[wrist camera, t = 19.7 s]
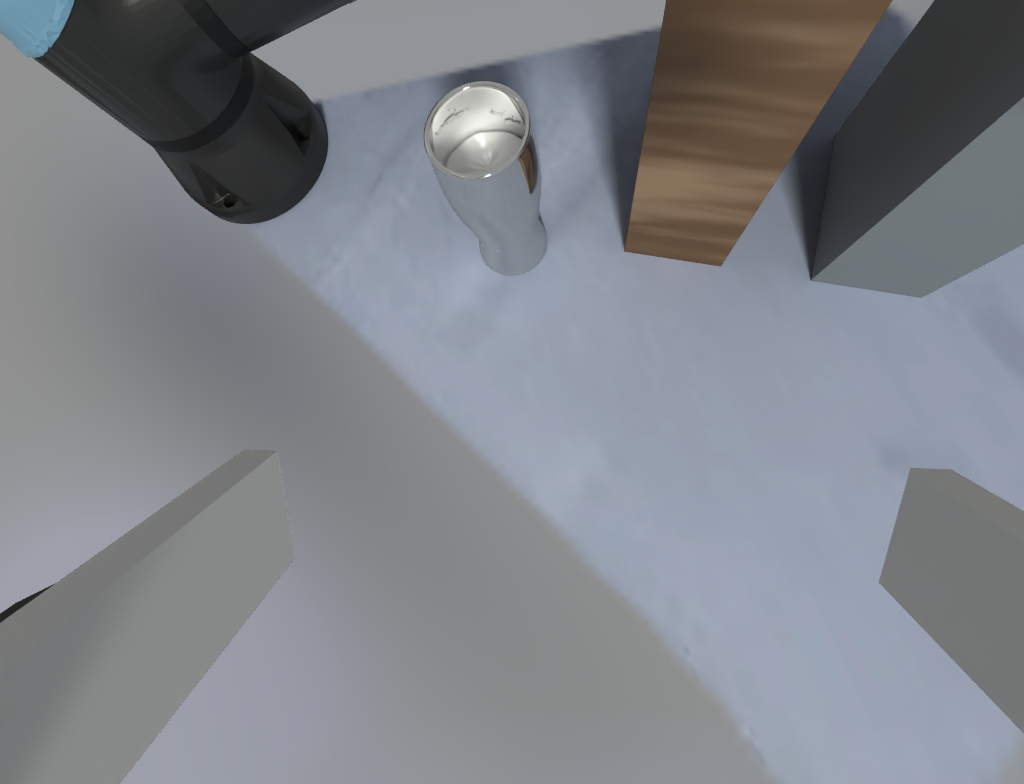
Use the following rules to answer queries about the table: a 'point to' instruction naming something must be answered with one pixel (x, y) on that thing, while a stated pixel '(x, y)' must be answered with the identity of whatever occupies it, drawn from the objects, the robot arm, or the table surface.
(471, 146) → the beer glass
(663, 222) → the block
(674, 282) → the table surface
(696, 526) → the table surface
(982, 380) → the table surface
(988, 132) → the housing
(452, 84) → the table surface
